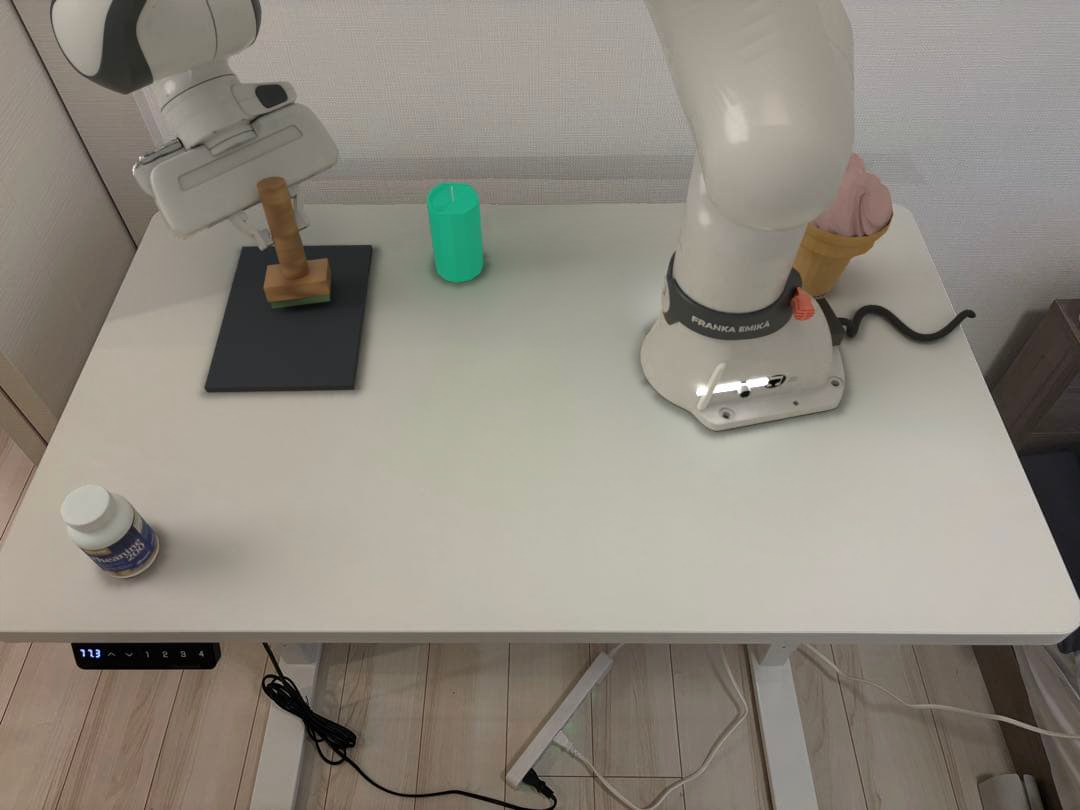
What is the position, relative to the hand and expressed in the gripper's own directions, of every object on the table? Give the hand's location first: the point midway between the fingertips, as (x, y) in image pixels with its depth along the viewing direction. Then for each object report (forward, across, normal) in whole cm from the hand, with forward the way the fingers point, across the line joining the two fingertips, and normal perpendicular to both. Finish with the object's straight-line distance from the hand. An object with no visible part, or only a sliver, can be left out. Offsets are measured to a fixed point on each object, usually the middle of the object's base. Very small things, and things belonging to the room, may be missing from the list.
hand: (286, 238), depth 89 cm
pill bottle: (+19, -31, -8) cm, 37 cm away
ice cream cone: (+34, +47, -22) cm, 62 cm away
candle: (+12, +17, 0) cm, 21 cm away
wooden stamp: (+6, -1, +4) cm, 7 cm away
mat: (+8, -3, +4) cm, 9 cm away
